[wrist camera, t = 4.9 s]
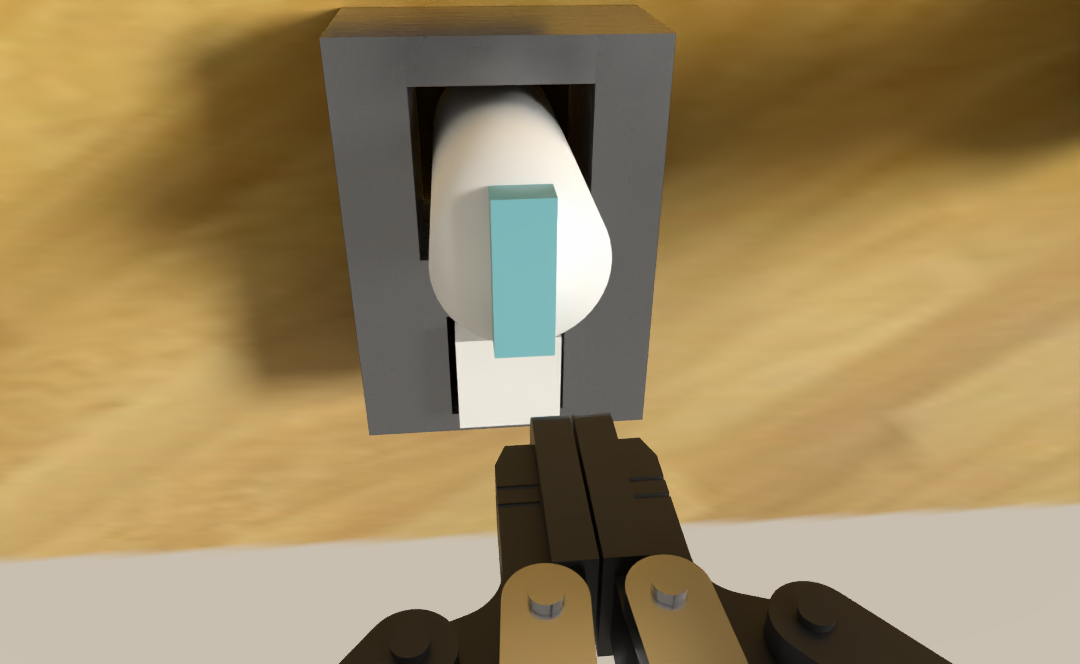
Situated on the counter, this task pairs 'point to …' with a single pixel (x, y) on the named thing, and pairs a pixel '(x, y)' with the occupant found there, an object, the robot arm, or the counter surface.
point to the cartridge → (511, 220)
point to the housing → (404, 216)
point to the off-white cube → (504, 383)
